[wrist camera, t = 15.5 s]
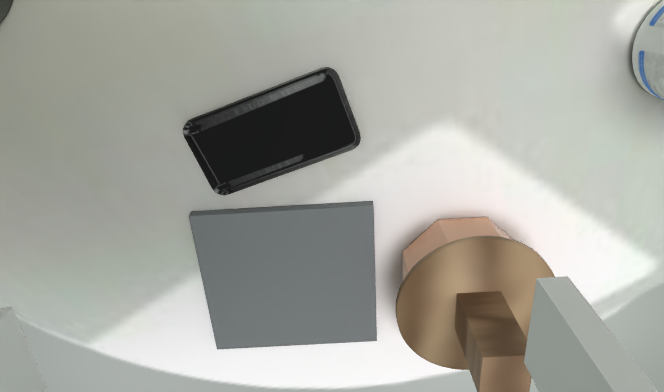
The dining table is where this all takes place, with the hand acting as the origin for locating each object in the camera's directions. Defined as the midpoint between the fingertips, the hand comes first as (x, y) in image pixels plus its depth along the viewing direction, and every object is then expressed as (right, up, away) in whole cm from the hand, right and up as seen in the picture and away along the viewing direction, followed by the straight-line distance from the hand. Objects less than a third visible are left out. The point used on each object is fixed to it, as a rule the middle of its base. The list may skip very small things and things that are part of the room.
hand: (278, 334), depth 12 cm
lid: (+15, -7, +33) cm, 37 cm away
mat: (-3, -5, +39) cm, 39 cm away
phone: (-4, +10, +32) cm, 34 cm away
